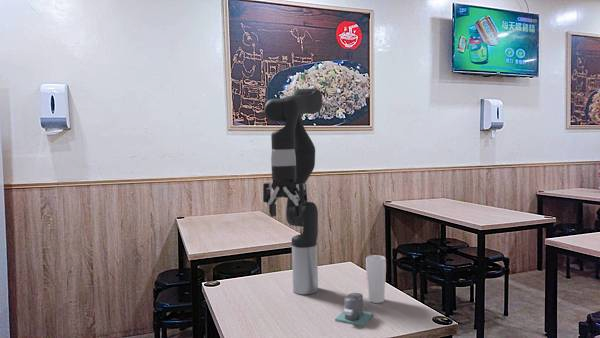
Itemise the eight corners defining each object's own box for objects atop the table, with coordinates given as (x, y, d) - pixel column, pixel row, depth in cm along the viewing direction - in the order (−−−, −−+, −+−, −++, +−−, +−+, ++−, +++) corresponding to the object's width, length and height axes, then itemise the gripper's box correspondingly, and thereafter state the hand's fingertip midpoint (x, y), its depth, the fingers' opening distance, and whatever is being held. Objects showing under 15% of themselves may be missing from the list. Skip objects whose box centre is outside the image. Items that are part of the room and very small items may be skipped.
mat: (346, 309, 134) (346, 308, 134) (372, 314, 130) (372, 312, 130) (335, 320, 126) (335, 318, 126) (363, 326, 122) (363, 324, 122)
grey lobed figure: (351, 310, 132) (351, 291, 132) (365, 312, 130) (364, 294, 130) (340, 321, 124) (339, 302, 124) (354, 324, 122) (353, 304, 121)
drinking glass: (390, 300, 141) (389, 257, 140) (379, 306, 136) (378, 261, 135) (373, 295, 146) (372, 253, 145) (362, 301, 141) (361, 258, 140)
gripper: (310, 163, 126) (311, 216, 126) (270, 163, 132) (271, 213, 133) (298, 164, 119) (300, 220, 120) (257, 165, 125) (259, 217, 126)
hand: (285, 216), depth 126 cm, fingers open, 8 cm apart
